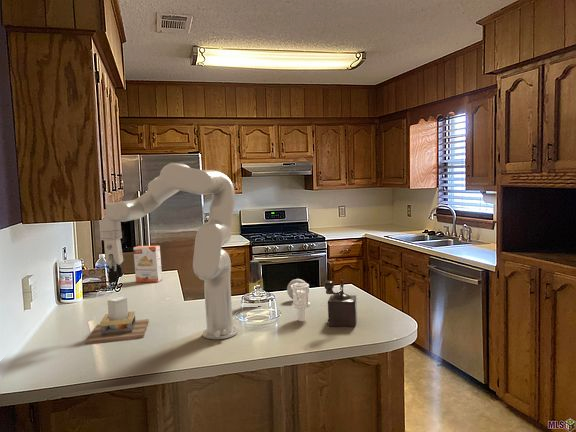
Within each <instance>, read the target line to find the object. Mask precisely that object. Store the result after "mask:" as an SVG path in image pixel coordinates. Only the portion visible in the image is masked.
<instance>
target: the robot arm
mask: <svg viewBox="0 0 576 432" xmlns="http://www.w3.org/2000/svg"><path fill="white" fill-rule="evenodd" d="M181 191H182V192H186V193H190V194H195V195H200V196H205V195H211V198H212V199H211V202H210V205H209V212H208V213H209V215H208V220H207V222H204V223H203V224H202V225H201V226H199V228H198V230H197V232H196V235H195V241H194V249H193V256H192V257H193V258H192V269H193V272H194V275H195V276H196V277H197V278H198V279H200V280H202V281H204V283H203V289H204V306H205V320H206V329H205V330H204V331H203V332H202V337H204V338H206V340H207V339H208V340H223V339H224V340H225V339H229V338H232V337H234V336H235V335H237V334H238V328H237V327H235V326H234V321H233V320H234V319H233V306H232V304H233V303H232V291H231V289H232V288H231V270H232V269H231V268H232V262H231V261H232V260H231V258H230V255H229V253H228V252H227V251H226V250H225V249H223V248H222V247H223V246H225V245H226V244H227V243H229V241H230V239H231V237H232V230H233V229H232V228H233V227H232V226H233V219H234V218H233V217H234V208H235V202H236V201H235V200H236V190H235V186H234V184H233V182H232V181H231V179H230V178H229V177H228V176H227V175H226V174H224V173H223V172H221V171H219V170H214V169H199V168H198V169H197V168H194V167H191V166H189V165H187V164H185V163H180V162H179V163H176V162H172V163H168V164H166V165H165V166H163V167H162V169H161V170H160V174H159V175H158V176H157V177H155V178H154V179H152V180H151V181H149V182H148V183H147V190H146V192H144V193H143V194H141V195H140V196H138V197H137V198H135V199H132V200H123V201H117V202H106V203H107V204H106V210H105V213H106V216H105V218H104V219H102V220H99V219H98V222H99V223H98V225H99V232H100V240H101V241H103V244H104V245H103V246H104V258H105V265H106V266H107V276H108V278H107V279H108V283H109V284H110V283H117V282H119V278H122V277H123V271H122V270H123V269H122V263H123V262H124V255H123V249H122V241H121V239H122V238H123V233H122V225H121V224H122V223H123V222H130V221H134V220H139V219H142V218H144V217H145V216H146V215H148V214H150V213H151V212H153V211H155V210H156V209H157V208H158V207H160V206H161V205H162V204H163V202H165V201H166V200H167V199H169V198H170V197H172V196H173V195H175V194H177V193H179V192H181ZM121 222H122V223H121Z"/></svg>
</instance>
